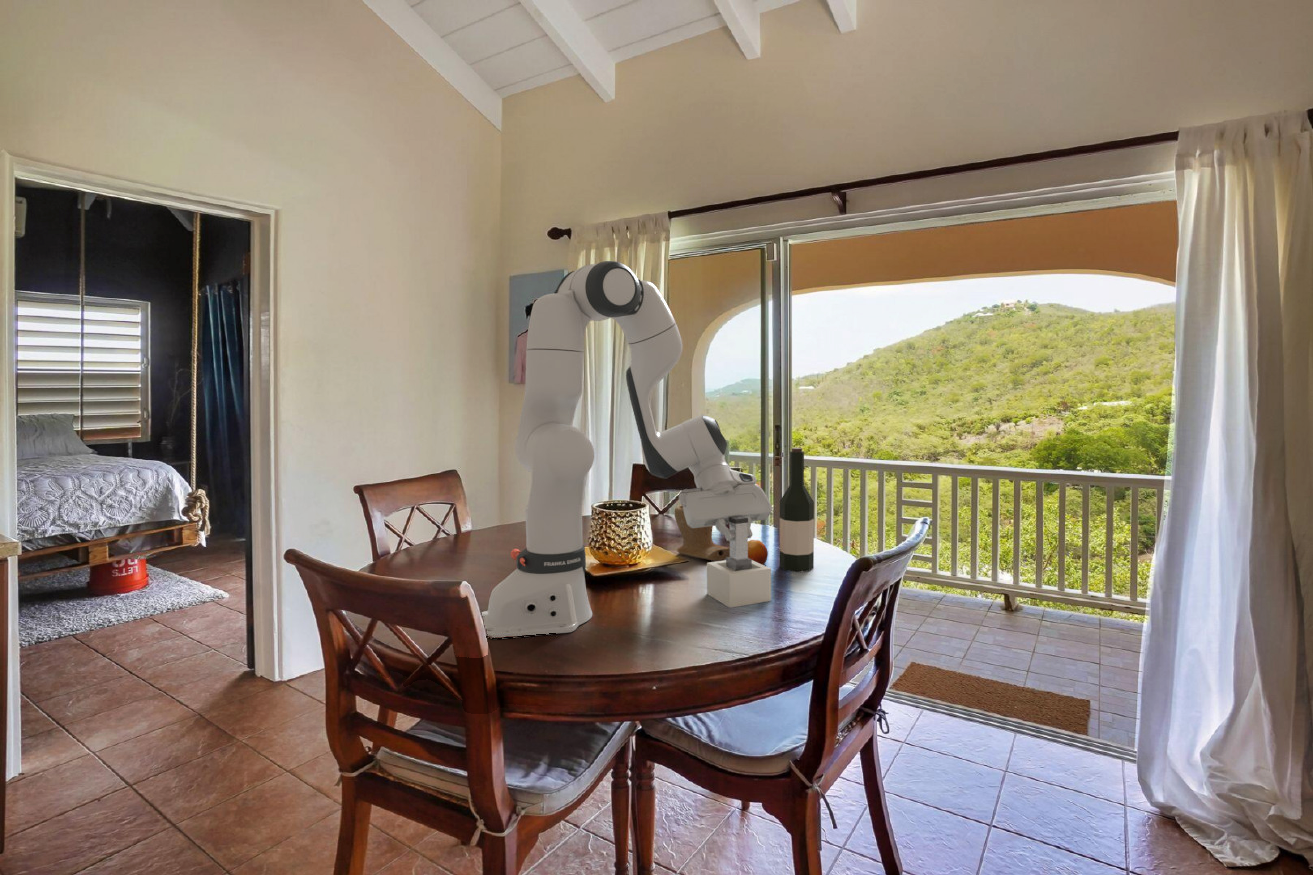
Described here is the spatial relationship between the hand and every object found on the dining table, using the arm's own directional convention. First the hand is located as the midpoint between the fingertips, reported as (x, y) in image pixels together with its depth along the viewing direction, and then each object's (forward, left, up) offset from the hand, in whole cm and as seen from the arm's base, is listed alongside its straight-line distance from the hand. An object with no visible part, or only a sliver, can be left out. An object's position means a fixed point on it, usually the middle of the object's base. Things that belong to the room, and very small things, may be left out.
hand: (740, 538), depth 142 cm
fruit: (+15, +20, -13) cm, 28 cm away
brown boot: (+8, +34, -13) cm, 37 cm away
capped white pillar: (0, +1, -7) cm, 7 cm away
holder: (0, +1, -13) cm, 13 cm away
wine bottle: (+25, +15, -13) cm, 32 cm away
